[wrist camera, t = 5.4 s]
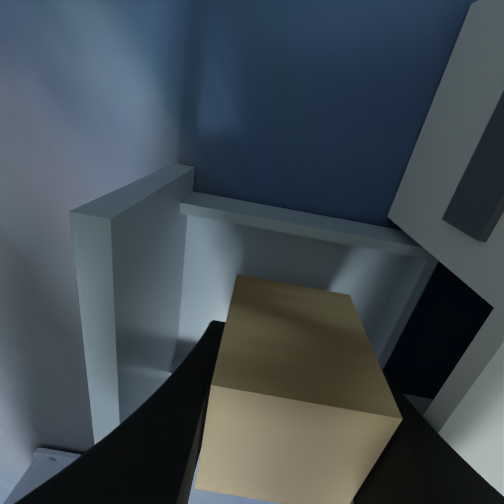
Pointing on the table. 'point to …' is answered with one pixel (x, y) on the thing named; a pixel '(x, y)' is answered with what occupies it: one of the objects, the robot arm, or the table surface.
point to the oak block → (294, 398)
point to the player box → (466, 230)
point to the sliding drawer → (214, 277)
